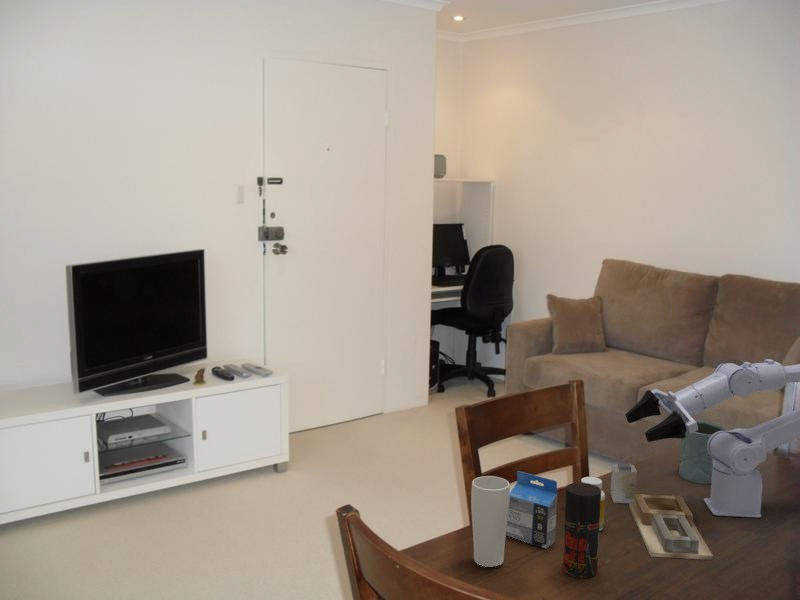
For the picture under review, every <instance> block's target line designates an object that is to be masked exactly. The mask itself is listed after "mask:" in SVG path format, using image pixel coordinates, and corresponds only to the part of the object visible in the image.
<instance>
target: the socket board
mask: <svg viewBox="0 0 800 600" xmlns="http://www.w3.org/2000/svg"><path fill="white" fill-rule="evenodd" d="M628 508H629V511H630V513H631V515H632V518H633V520H634V523H635V525H636V526H637V530H638V531H639V533H640V535H641V538H642V540H643V543H644V545H645V547H646V550H647V552H648V555H649V556H650V558H651V557H652V558H668V559H686V560H687V559H688V560H703V561H705V560H707V561H713V560H714V555H713V553H712V551H711V550H710V549H709V546H708V545H707V543H706V541H705V539H704V538H703V537H702V534H700V532H699V530H698V528H697V527H696V525H695V523H694V515H693V513H692V511H691V510H690V508H689V507H688V505H687V503H686V501H685V500H684V498H683V497H682V495H668V494H667V495H661V494H641V493H640V494H639V493H636V494H634V504H632V503H628Z"/></svg>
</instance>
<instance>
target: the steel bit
mask: <svg viewBox="0 0 800 600" xmlns="http://www.w3.org/2000/svg"><path fill="white" fill-rule="evenodd" d="M637 485H638V471H637V469H636V467H635V464H630V463H626V462H618V463H611V481H610V497H611V498H612V502H613V503H614V504H634V494H637Z"/></svg>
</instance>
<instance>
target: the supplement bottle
mask: <svg viewBox="0 0 800 600" xmlns="http://www.w3.org/2000/svg"><path fill="white" fill-rule="evenodd" d="M580 483H588V484H592V485H595V486H597V487H599V488H600V489H601V504H600V524H599V532H600V531H603V529H604V526H605V525H604V523H605V507H606V506H605V505H606V503H605V502H606V494H605V492H604V491H603V490H602V489H603V480H602V479H600V477H599V478H598V477H595V476H585V477H582V478H581V480H580Z"/></svg>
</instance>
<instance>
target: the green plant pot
mask: <svg viewBox="0 0 800 600" xmlns="http://www.w3.org/2000/svg"><path fill="white" fill-rule="evenodd" d="M695 421H696V422H697V426H698V430H697V431H695V432H693V433H691V434H690V433H689V432H687V431H686V432H685V435H686V437H685V438H683V439H681V438H679V440H680V443H679V476H680V477H681V479H683V480H686V481H688V482H691V483H695V484H701V485H702V484H703V485H704V484H709V485H710V484H711V482H712V468H713V463H712V456H711V455H710V454H709V452H708V450H707V443H708V440H709V438H710V437H711V436H712V435H713V434H714V433H716V432H718V431H728V429H727V428H726V427H724V426H723V425H721V424H718V423H714V422H711V421H710V422H709V421H706V420H705V421H703V420H695Z"/></svg>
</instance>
